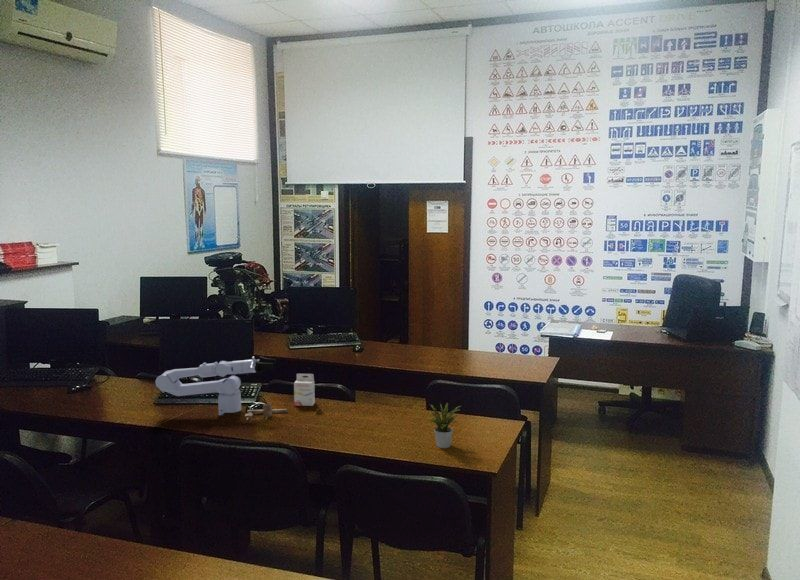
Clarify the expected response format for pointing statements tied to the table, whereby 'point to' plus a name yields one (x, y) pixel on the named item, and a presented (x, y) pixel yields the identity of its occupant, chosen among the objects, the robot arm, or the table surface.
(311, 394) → the ink cartridge box
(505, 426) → the table surface
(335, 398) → the table surface
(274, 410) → the beam and fixed leg
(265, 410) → the sliding leg
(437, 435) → the house plant
